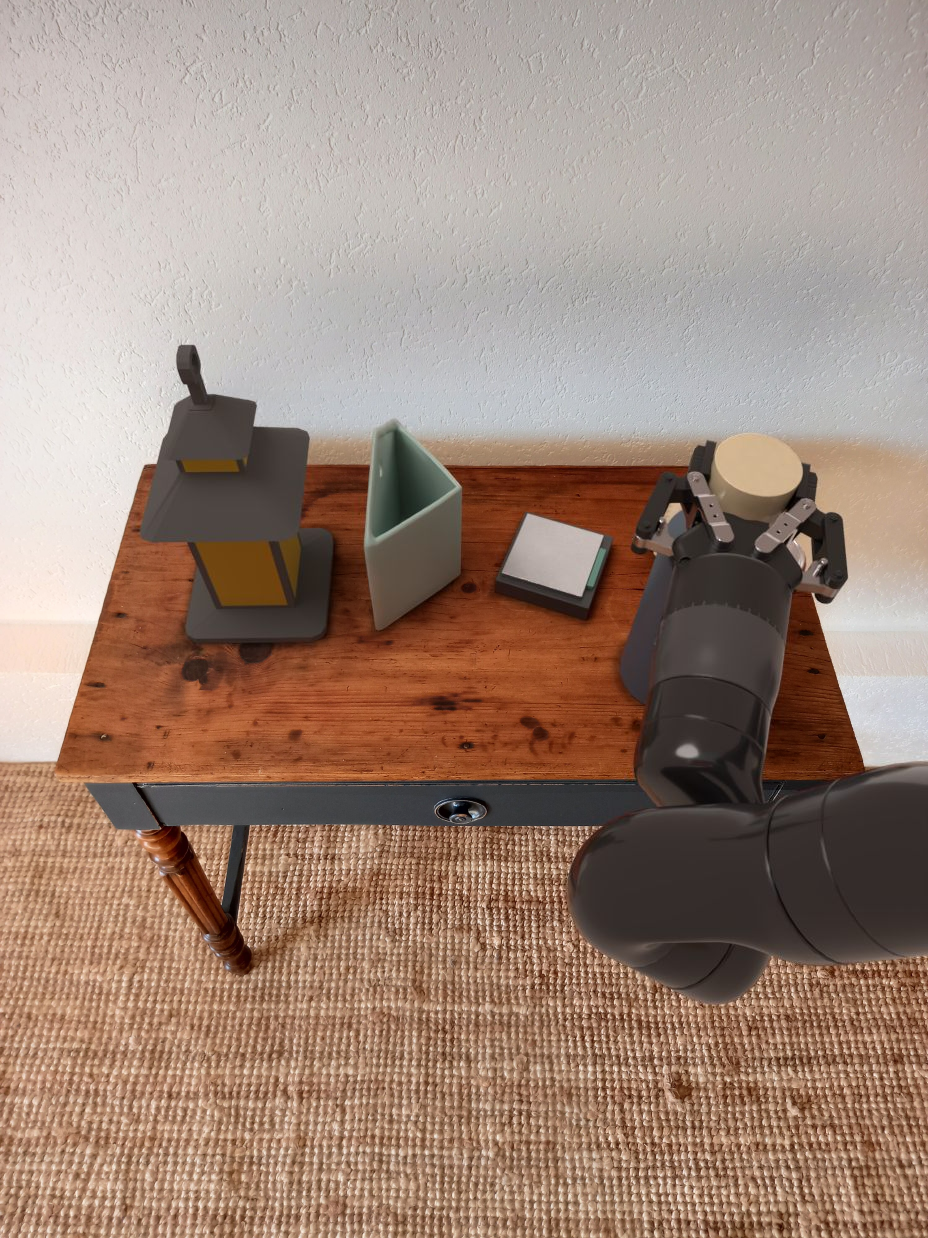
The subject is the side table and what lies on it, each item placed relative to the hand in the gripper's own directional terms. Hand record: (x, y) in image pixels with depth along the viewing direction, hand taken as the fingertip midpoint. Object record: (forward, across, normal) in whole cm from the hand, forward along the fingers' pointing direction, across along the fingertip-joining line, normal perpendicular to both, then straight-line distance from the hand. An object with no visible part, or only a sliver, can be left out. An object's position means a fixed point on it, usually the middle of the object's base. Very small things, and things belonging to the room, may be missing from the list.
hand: (753, 460), depth 58 cm
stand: (-2, 0, +27) cm, 27 cm away
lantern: (-6, +42, +27) cm, 50 cm away
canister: (-2, 0, +7) cm, 7 cm away
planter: (+2, +27, +27) cm, 38 cm away
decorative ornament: (+15, +2, +27) cm, 31 cm away
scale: (+6, +14, +27) cm, 31 cm away
